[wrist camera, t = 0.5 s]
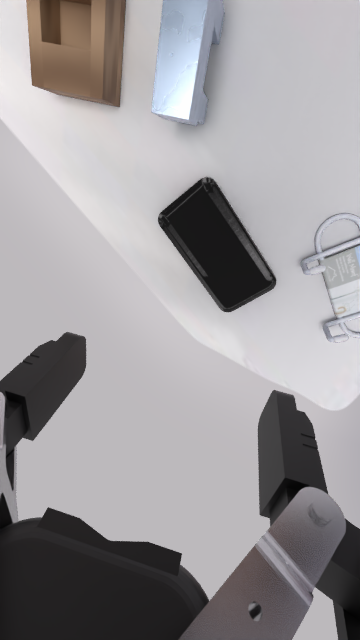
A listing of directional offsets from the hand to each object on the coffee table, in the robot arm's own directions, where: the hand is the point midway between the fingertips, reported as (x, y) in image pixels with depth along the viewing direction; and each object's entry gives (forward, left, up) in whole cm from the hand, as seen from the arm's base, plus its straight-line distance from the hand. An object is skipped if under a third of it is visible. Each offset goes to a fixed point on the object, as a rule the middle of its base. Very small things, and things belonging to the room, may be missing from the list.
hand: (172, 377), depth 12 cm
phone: (+1, 0, -26) cm, 26 cm away
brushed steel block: (-15, -6, -25) cm, 30 cm away
